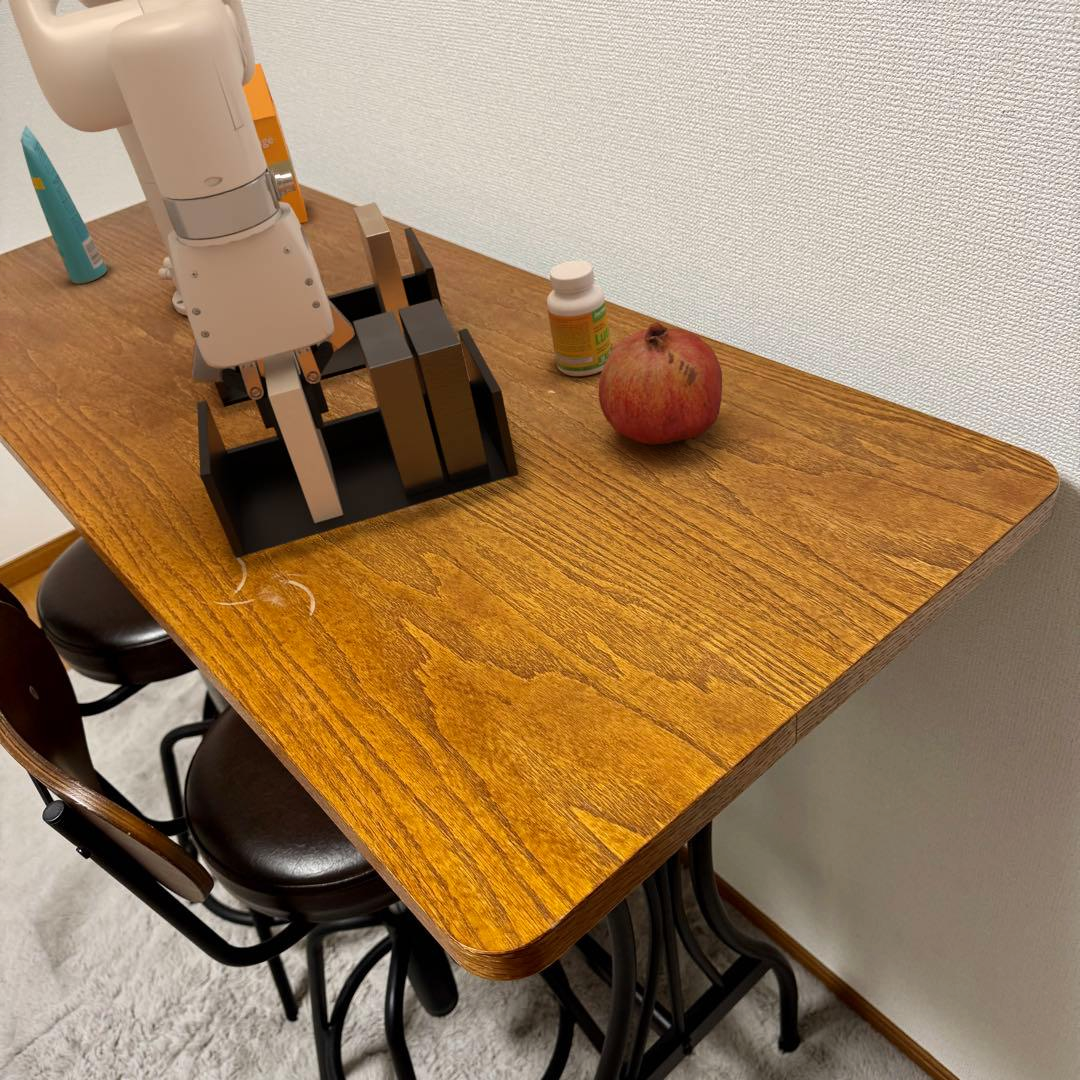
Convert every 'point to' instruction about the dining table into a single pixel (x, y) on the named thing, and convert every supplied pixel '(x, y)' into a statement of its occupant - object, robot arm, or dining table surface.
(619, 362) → the fruit
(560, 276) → the supplement bottle
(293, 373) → the long flat cream plank
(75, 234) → the tube
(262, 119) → the orange juice
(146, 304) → the dining table surface
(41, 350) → the dining table surface
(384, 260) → the brown and black frame
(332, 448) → the black rack
